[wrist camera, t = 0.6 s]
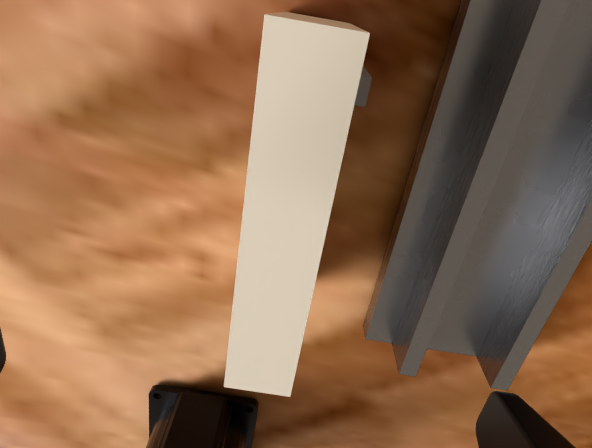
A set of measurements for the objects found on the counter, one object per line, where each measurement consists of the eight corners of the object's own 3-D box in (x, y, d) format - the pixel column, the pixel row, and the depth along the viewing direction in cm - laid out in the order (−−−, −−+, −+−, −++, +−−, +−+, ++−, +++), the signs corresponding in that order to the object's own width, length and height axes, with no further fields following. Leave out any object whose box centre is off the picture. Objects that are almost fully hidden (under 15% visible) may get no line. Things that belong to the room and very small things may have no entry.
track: (509, 348, 22) (535, 394, 20) (363, 325, 22) (369, 369, 19) (760, -121, 13) (873, -154, 10) (512, -170, 13) (564, -216, 10)
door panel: (308, 284, 21) (304, 399, 15) (251, 275, 21) (223, 387, 15) (362, 25, 16) (391, 36, 9) (285, 11, 16) (264, 14, 9)
